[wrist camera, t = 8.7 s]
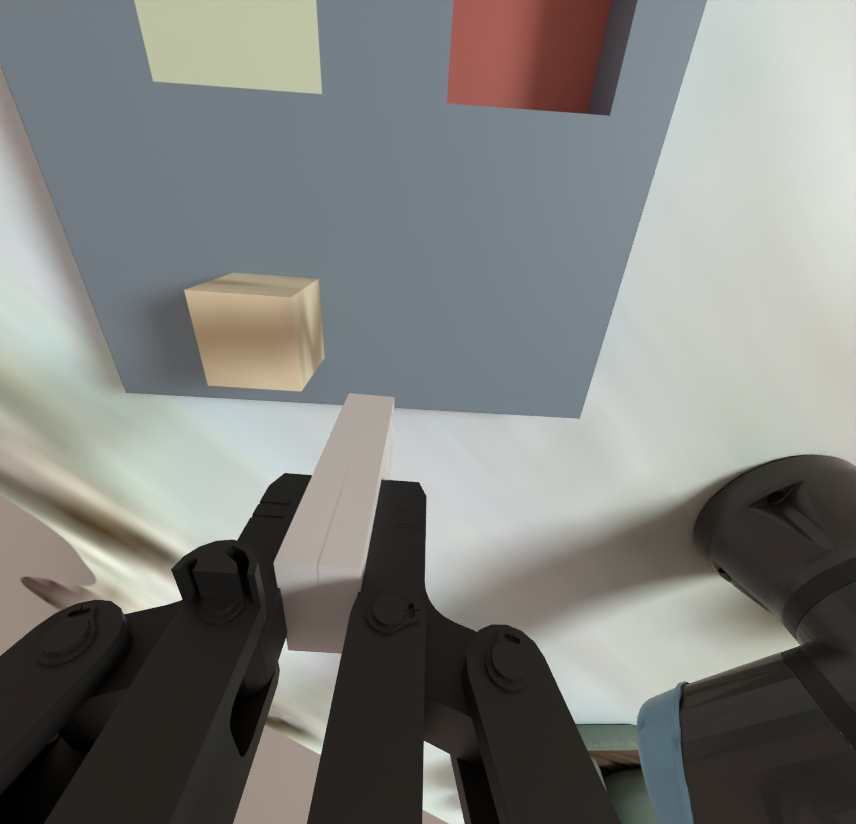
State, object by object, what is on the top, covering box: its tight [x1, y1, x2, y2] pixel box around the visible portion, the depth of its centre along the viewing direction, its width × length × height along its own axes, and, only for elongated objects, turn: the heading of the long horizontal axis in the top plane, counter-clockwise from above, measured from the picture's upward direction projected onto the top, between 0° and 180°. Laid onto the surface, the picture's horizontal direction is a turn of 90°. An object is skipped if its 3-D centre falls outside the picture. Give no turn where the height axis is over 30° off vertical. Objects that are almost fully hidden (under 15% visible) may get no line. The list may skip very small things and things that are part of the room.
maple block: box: [184, 273, 325, 392], centre depth 21 cm, size 5×5×5 cm
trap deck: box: [0, 0, 707, 418], centre depth 18 cm, size 38×32×4 cm
